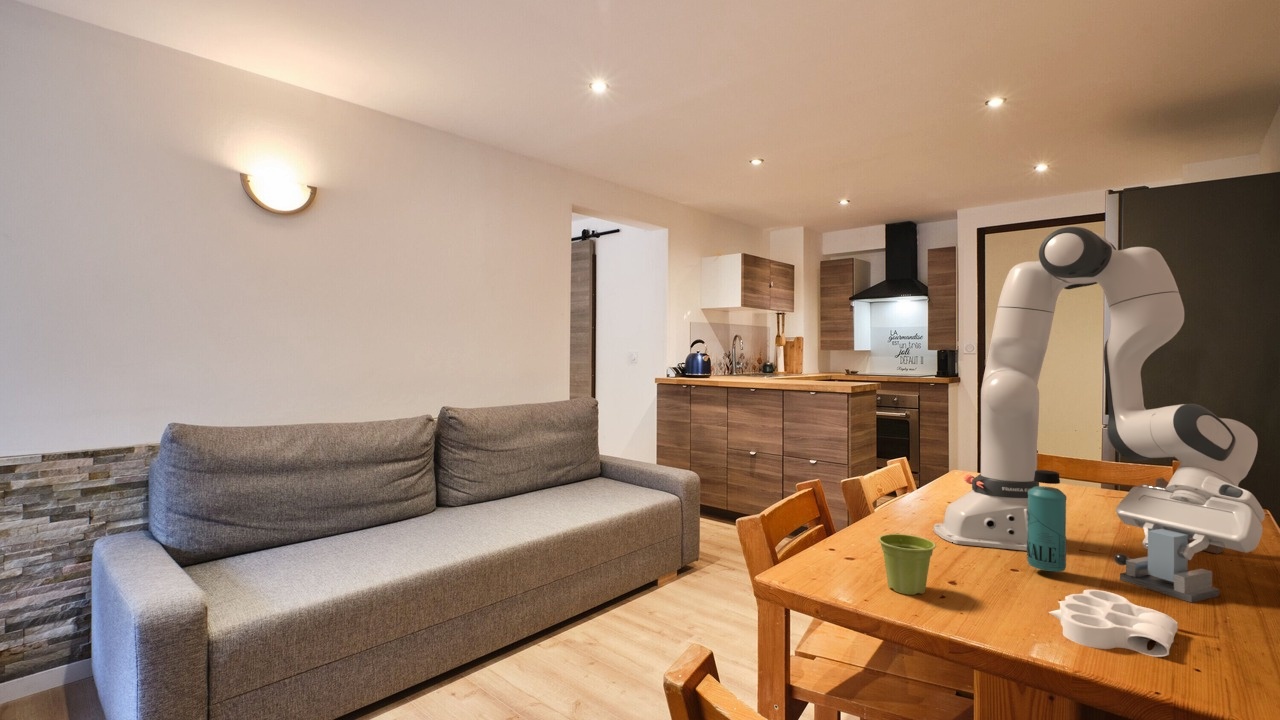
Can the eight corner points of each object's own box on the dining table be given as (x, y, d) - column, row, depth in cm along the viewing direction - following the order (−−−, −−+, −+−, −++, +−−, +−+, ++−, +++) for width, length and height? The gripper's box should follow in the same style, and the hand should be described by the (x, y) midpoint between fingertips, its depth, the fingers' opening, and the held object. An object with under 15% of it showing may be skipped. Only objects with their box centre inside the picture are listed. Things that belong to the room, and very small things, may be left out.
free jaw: (1134, 577, 109) (1135, 563, 109) (1101, 566, 114) (1101, 553, 114) (1162, 571, 112) (1162, 557, 112) (1128, 561, 117) (1128, 548, 117)
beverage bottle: (1060, 569, 116) (1060, 468, 116) (1072, 582, 110) (1073, 475, 110) (1022, 566, 119) (1022, 466, 118) (1031, 577, 112) (1032, 472, 112)
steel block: (1173, 582, 105) (1173, 537, 105) (1147, 574, 109) (1147, 530, 109) (1187, 579, 106) (1187, 534, 106) (1161, 571, 110) (1161, 528, 110)
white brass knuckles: (1165, 672, 79) (1037, 634, 90) (1180, 629, 92) (1066, 601, 102) (1165, 647, 79) (1037, 612, 90) (1180, 608, 92) (1066, 581, 102)
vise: (1191, 602, 101) (1191, 579, 101) (1119, 579, 111) (1120, 558, 111) (1219, 596, 104) (1219, 573, 104) (1146, 574, 114) (1147, 553, 114)
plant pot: (881, 576, 113) (881, 530, 113) (936, 584, 109) (936, 537, 109) (875, 593, 105) (875, 544, 105) (934, 603, 101) (935, 552, 101)
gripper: (1128, 472, 120) (1095, 525, 116) (1263, 494, 100) (1229, 559, 97) (1142, 492, 121) (1110, 545, 118) (1278, 518, 102) (1245, 582, 99)
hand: (1165, 552), depth 107 cm, fingers closed on steel block, 4 cm apart
